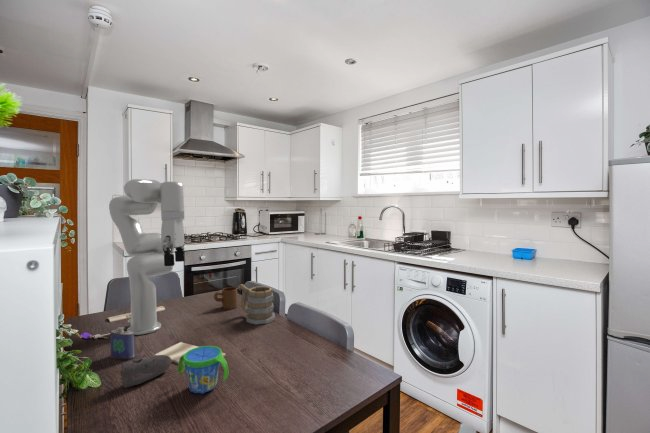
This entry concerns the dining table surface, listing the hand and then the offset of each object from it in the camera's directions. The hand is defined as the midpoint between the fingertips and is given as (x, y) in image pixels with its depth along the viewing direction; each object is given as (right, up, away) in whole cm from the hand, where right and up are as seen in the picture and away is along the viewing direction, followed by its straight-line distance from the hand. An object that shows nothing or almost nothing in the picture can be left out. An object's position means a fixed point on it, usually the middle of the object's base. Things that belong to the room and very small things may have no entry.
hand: (174, 263), depth 118 cm
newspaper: (-36, -31, +39) cm, 62 cm away
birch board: (+7, -32, -4) cm, 33 cm away
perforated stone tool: (0, -33, -19) cm, 38 cm away
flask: (-16, -32, -4) cm, 36 cm away
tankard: (+22, -30, +34) cm, 51 cm away
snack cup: (+19, -33, -23) cm, 44 cm away
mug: (+4, -30, +48) cm, 57 cm away
